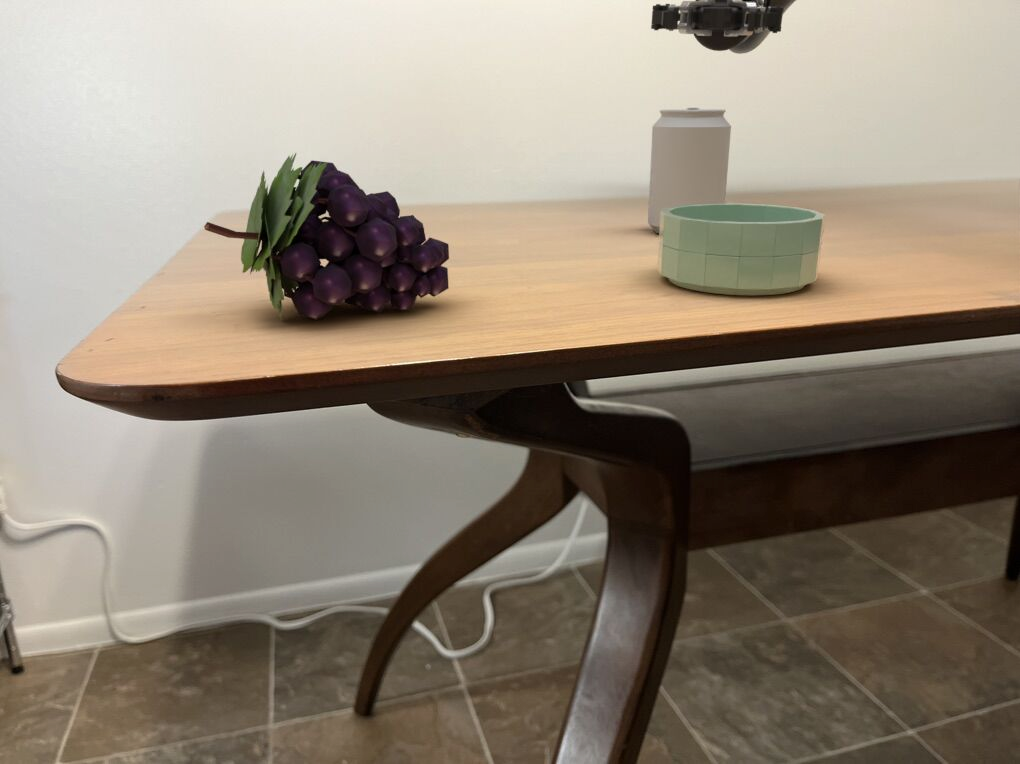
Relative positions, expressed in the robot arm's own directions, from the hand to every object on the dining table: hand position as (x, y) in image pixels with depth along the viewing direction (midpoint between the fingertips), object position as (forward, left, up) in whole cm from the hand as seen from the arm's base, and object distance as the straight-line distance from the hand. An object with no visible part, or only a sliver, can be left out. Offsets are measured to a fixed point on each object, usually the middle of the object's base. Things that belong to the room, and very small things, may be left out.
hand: (710, 19), depth 86 cm
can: (+3, +11, -21) cm, 24 cm away
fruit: (+30, +45, -21) cm, 58 cm away
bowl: (+3, +35, -21) cm, 41 cm away
